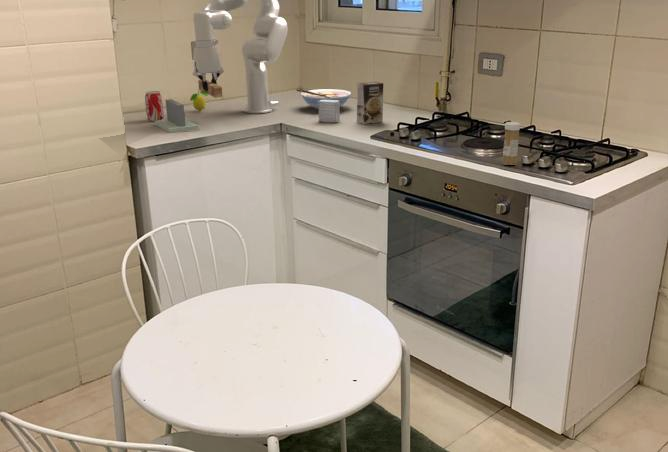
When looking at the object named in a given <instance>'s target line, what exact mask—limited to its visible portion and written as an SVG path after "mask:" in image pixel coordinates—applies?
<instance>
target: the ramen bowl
mask: <svg viewBox="0 0 668 452" xmlns="http://www.w3.org/2000/svg"><path fill="white" fill-rule="evenodd" d="M296 92H300V93H301V94H300V95H301V97H302V99H303V100H304V101H305V103H306V104H307V105H309V106H310V107H312V108H314V109H317V110H318V109H319V101H320V100H339V108H340V107H342V106H343V105H345V104H346V103H347V101H348V100H349V99H350V96H351V94H352V93H351V91H348V90H344V89H334V88H333V89H332V88H329V89H327V88H325V89H324V88H323V89H322V88H321V89H311V90H306V89H302V88H300V89H296Z"/></svg>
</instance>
